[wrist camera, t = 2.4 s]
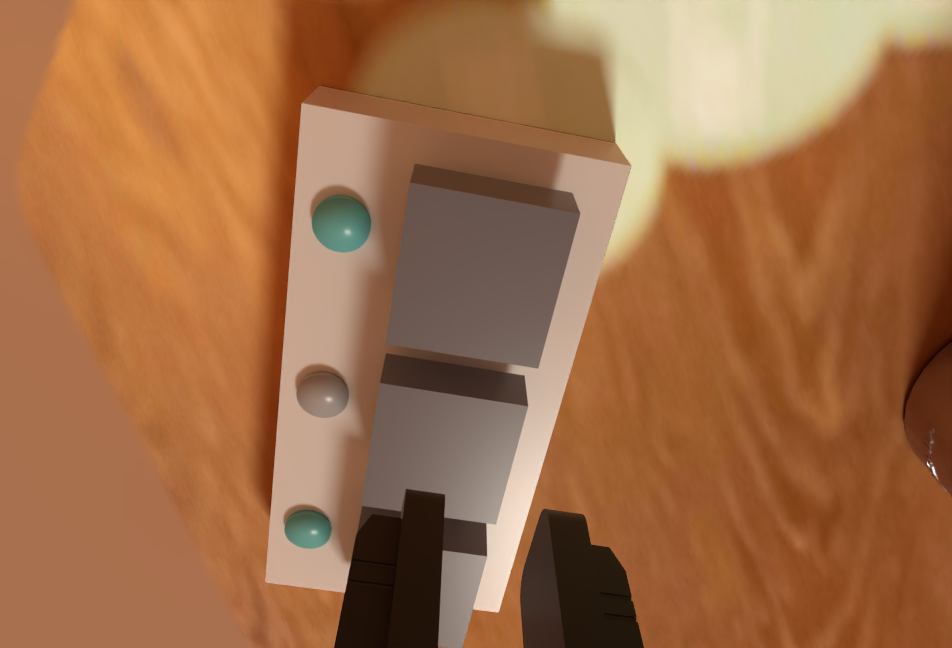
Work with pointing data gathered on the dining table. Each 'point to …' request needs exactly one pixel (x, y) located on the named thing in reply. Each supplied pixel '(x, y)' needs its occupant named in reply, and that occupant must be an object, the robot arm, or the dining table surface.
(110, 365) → the dining table surface
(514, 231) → the front key
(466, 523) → the back key
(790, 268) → the dining table surface
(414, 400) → the middle key
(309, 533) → the keypad
